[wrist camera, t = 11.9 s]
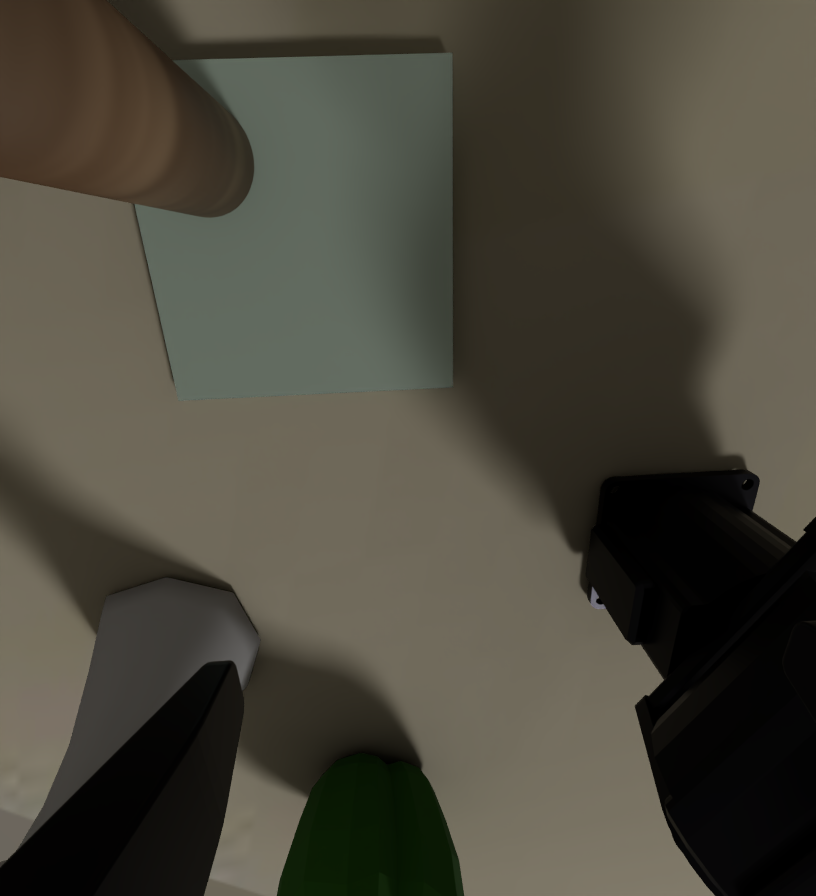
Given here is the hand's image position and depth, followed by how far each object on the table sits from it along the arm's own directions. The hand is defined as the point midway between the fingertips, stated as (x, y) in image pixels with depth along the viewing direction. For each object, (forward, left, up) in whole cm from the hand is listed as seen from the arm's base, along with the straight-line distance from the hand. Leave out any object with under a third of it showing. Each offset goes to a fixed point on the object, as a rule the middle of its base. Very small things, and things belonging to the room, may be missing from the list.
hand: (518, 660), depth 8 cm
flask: (+12, +10, -12) cm, 20 cm away
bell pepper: (+4, +21, -12) cm, 25 cm away
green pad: (+4, -6, -12) cm, 14 cm away
